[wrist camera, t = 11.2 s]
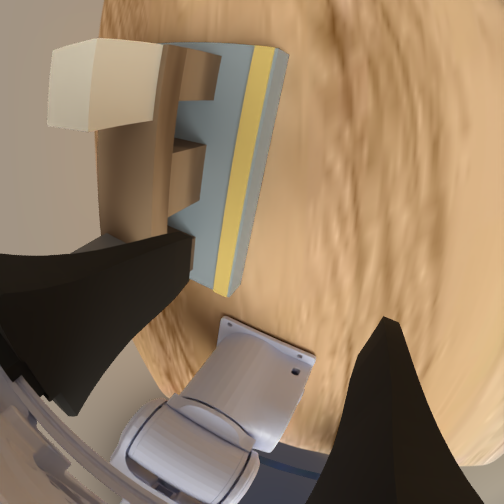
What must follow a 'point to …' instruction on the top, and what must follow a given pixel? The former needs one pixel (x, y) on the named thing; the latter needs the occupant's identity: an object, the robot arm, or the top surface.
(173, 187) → the brown piece
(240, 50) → the dock
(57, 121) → the cream block
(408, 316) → the top surface
